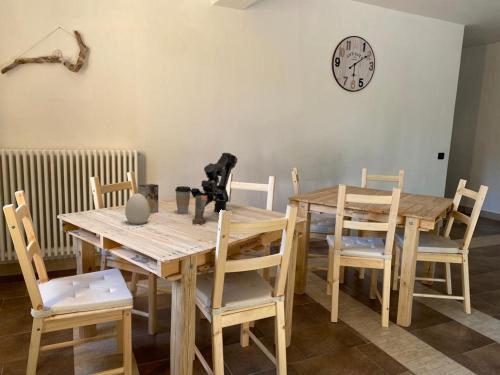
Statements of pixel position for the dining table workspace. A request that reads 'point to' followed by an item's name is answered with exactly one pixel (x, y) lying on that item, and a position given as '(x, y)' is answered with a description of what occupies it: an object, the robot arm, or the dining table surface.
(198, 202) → the stand
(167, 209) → the dining table surface
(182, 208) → the coffee cup
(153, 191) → the coffee box
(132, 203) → the decorative egg
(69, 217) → the dining table surface
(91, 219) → the dining table surface
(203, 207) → the block
